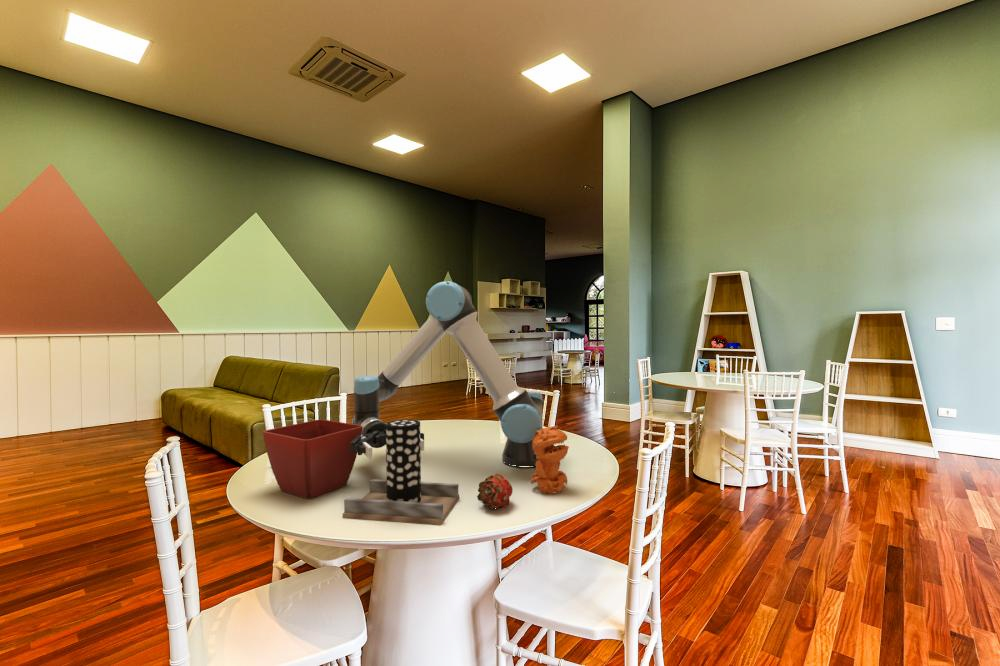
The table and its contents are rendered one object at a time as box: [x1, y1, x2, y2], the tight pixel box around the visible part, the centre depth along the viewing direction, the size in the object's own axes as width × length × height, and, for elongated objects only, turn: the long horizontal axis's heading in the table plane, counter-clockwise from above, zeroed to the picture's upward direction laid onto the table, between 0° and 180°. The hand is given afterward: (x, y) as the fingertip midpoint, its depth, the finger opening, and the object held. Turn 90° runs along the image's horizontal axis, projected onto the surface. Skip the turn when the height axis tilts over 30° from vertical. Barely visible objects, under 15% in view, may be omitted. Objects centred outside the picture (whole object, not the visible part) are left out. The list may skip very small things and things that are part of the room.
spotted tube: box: [385, 419, 422, 502], centre depth 112 cm, size 8×8×20 cm
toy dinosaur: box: [529, 424, 570, 494], centre depth 124 cm, size 11×11×18 cm
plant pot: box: [262, 418, 363, 499], centre depth 126 cm, size 19×19×17 cm
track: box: [342, 478, 460, 526], centre depth 112 cm, size 24×16×4 cm, turn 80°
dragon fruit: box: [476, 473, 513, 510], centre depth 113 cm, size 8×8×12 cm
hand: (397, 449), depth 115 cm, fingers open, 13 cm apart
